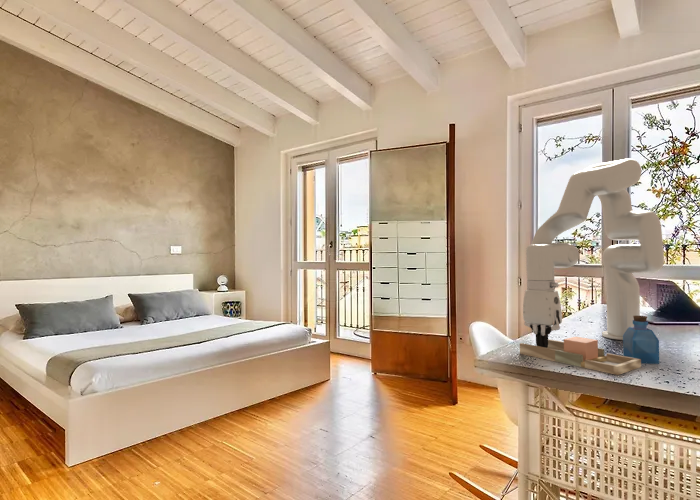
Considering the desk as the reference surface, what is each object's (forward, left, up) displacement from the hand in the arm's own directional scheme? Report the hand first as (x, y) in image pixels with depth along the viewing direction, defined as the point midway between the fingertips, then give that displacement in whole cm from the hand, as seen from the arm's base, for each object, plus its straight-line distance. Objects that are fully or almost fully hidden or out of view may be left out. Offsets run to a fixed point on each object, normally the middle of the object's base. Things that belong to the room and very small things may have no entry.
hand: (542, 347), depth 128 cm
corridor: (0, +10, -1) cm, 11 cm away
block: (+1, +12, -2) cm, 12 cm away
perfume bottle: (-13, +21, -2) cm, 25 cm away
